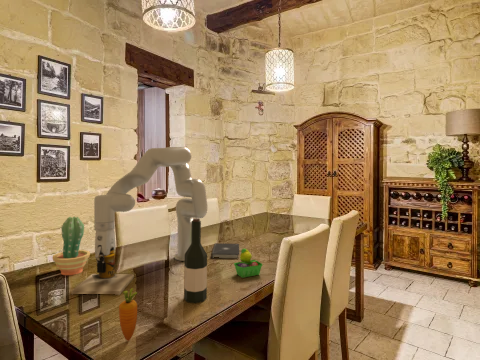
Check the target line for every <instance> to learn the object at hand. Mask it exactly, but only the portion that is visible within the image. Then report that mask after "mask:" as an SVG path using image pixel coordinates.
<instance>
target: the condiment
mask: <svg viewBox="0 0 480 360" xmlns="http://www.w3.org/2000/svg"><path fill="white" fill-rule="evenodd" d="M100 255H104V254H103V253H101V254H100ZM102 259H103V257H102ZM105 262H106V272H105V273H96V274H97V275H92V277H93V279H94V280H95V281H99V280H105V279H112V278H117V276H116V274H117V273H116V253H115V250H114V247H112V248H111V249H110V254H109V255H108V256H105Z"/></svg>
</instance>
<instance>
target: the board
mask: <svg viewBox="0 0 480 360" xmlns="http://www.w3.org/2000/svg"><path fill="white" fill-rule="evenodd" d="M97 274H98V273H92V274H90V275H88V276H87V278H85V279H84V280H82V282H81V283H79V284H78V285H76V286H75V287H74V288H73V289H72V290H71V294H70V295H72V296H73V294H115V295H114V296H120V295H121V294H123V292H124V291H125V289H126V288H127V286H128V285H129V284H130V283H131V282H132V281H133V280H134V278H135V275H134V274H135V273H115V274H116V276H117V278H112V279H105V280H99V281H95V280H94V279H93V277H92V275H97Z"/></svg>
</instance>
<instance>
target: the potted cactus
mask: <svg viewBox="0 0 480 360" xmlns="http://www.w3.org/2000/svg"><path fill="white" fill-rule="evenodd" d="M60 228H61V238H62V240H63V241H62V242H63V249H62V251H61V252H57V253H55V254H53V255H52V257H51V259H52V260H53V262H54V263H55V265H56V266H57V267H56V268H57V269H58V270H59V271H60V274H61V275H63V276H72V275H73V276H74V275H78V274H81V273H82V272H83V270H84V267H85V266H86V264H87V261H88V258H89V259H90V256H91V251H89V250H85V249H80V246H81V243H82V242H81V241H82V239H83V236H84V234H85V224H84V223H83V221H82V220H81V219H80V217H79V216H73V217H71V216H69V217H67V218H66V219H65V221H64V222H63V223H62V225H61V227H60Z"/></svg>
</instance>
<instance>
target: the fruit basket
mask: <svg viewBox="0 0 480 360" xmlns="http://www.w3.org/2000/svg"><path fill="white" fill-rule="evenodd" d="M239 255H240V256H239V260H240V261H238V262H234V263H233V265H234V267H235V271H236V275H238V276H239V277H241V278H247V277H253V276H260V273H261V269H262V267H263V263H261V262H260V261H258V260H256V259H252V258H253V255H252V253H251V252H250V251H249V250H248V249H246V248H242V249H241V252H240V254H239Z"/></svg>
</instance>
